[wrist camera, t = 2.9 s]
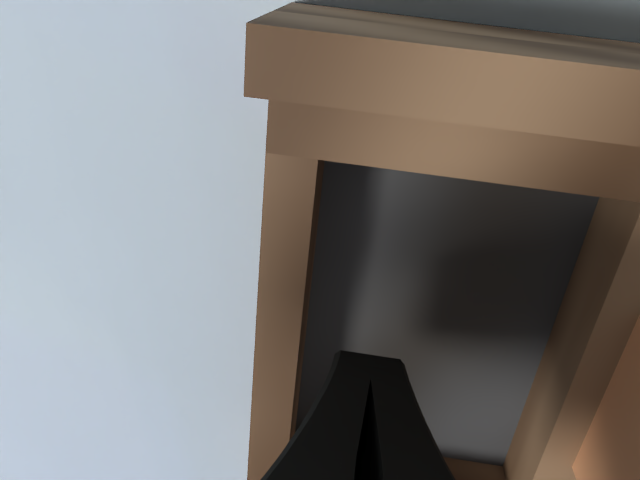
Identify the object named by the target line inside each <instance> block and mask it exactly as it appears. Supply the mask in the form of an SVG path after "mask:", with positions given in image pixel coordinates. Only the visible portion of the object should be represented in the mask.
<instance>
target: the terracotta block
mask: <svg viewBox="0 0 640 480" xmlns="http://www.w3.org/2000/svg"><path fill="white" fill-rule="evenodd" d="M572 469H573V472H574V475H575V477H576V480H640V315H639V317H638V319H637V321H636V324H635V326H634V328H633V330H632V333H631V335H630V337H629V339H628V342H627V344H626V346H625V348H624V351H623V353H622V355H621V357H620V360H619V362H618V364H617V366H616V369H615V371H614V373H613V376H612V378H611V380H610V382H609V385H608V387H607V389H606V391H605V394H604V396H603V398H602V400H601V403H600V405H599V407H598V409H597V412H596V414H595V416H594V418H593V421H592V423H591V425H590V427H589V430H588V432H587V434H586V436H585V439H584V441H583V443H582V445H581V448H580V450H579V452H578V454H577V457H576V459H575V461H574V463H573V466H572Z"/></svg>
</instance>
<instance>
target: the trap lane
mask: <svg viewBox="0 0 640 480" xmlns="http://www.w3.org/2000/svg"><path fill="white" fill-rule="evenodd" d="M244 97H252V98H260V99H268V100H269V103H268V121H267V138H266V156H265V174H264V192H263V209H262V227H261V245H260V262H259V280H258V298H257V316H256V333H255V351H254V369H253V386H252V404H251V422H250V440H249V457H248V475H247V480H261V478H262V477H263V476H264V475H265V474H266V472H267V471H268V470H269V468H270V467H271V466H272V465H273V463H274V462H275V461H276V459H277V458H278V457H279V455H280V454H281V453H282V451H283V450H284V448H285V447H286V445H287V444H288V442H289V441H290V440H291V438H292V437H293V435H294V434H295V432H296V431H297V429H298V428H299V426H300V425H301V423H302V422H303V420H304V418H305V417H306V415H307V413H308V412H309V410H310V408H311V406H312V405H313V403H314V401H315V399H316V398H317V396H318V394H319V392H320V390H321V388H322V386H323V384H324V382H325V380H326V378H327V376H328V373H329V371H330V368H331V365H332V362H333V359H334V354H335V353H337V352H338V351H340V350H343V351H350V352H356V353H363V354H370V355H376V356H383V357H389V358H396V359H401V361H402V362H403V363H404V364H405V368H406V371H407V374H408V378H409V381H410V383H411V386H412V389H413V392H414V394H415V397H416V399H417V402H418V404H419V407H420V409H421V411H422V414H423V416H424V418H425V421H426V423H427V425H428V427H429V429H430V431H431V433H432V435H433V438H434V440H435V442H436V444H437V446H438V448H439V450H440V452H441V454H442V456H443V458H444V460H445V462H446V464H447V465H448V467H449V469H450V471H451V473H452V474H453V476H454V478H455V480H576V477H575V475H574V472H573V469H572V466H573V463H574V461H575V459H576V457H577V454H578V452H579V450H580V448H581V445H582V443H583V441H584V439H585V436H586V434H587V432H588V430H589V427H590V425H591V423H592V421H593V418H594V416H595V414H596V412H597V409H598V407H599V405H600V403H601V400H602V398H603V396H604V394H605V391H606V389H607V387H608V385H609V382H610V380H611V378H612V376H613V373H614V371H615V369H616V366H617V364H618V362H619V360H620V357H621V355H622V353H623V351H624V348H625V346H626V344H627V342H628V339H629V337H630V335H631V333H632V330H633V328H634V326H635V324H636V321H637V319H638V317H639V315H640V43H634V42H626V41H617V40H609V39H600V38H592V37H583V36H575V35H566V34H558V33H549V32H541V31H532V30H524V29H515V28H507V27H498V26H490V25H481V24H473V23H464V22H456V21H447V20H439V19H430V18H422V17H413V16H405V15H396V14H388V13H379V12H371V11H362V10H354V9H345V8H337V7H328V6H320V5H311V4H303V3H294V2H292V3H290V4H287V5H285V6H283V7H281V8H278V9H276V10H274V11H272V12H269V13H267V14H265V15H263V16H260V17H258V18H256V19H254V20H252V21H249V22H247V23H246V49H245V77H244Z"/></svg>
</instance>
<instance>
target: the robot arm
mask: <svg viewBox="0 0 640 480" xmlns="http://www.w3.org/2000/svg"><path fill="white" fill-rule="evenodd" d="M261 480H455V478H454V476H453V474H452V473H451V471H450V469H449V467H448V465H447V464H446V462H445V460H444V458H443V456H442V454H441V452H440V450H439V448H438V446H437V444H436V442H435V440H434V438H433V435H432V433H431V431H430V429H429V427H428V425H427V423H426V421H425V418H424V416H423V414H422V411H421V409H420V407H419V404H418V402H417V399H416V397H415V394H414V392H413V389H412V386H411V383H410V381H409V378H408V374H407V371H406V368H405V364H404V363H403V362H402V361H401V359H396V358H389V357H383V356H376V355H370V354H363V353H356V352H350V351H343V350H340V351H338V352H337V353H335V354H334V359H333V362H332V365H331V368H330V371H329V373H328V376H327V378H326V380H325V382H324V384H323V386H322V388H321V390H320V392H319V394H318V396H317V398H316V399H315V401H314V403H313V405H312V406H311V408H310V410H309V412H308V413H307V415H306V417H305V418H304V420H303V422H302V423H301V425H300V426H299V428H298V429H297V431H296V432H295V434H294V435H293V437H292V438H291V440H290V441H289V442H288V444H287V445H286V447H285V448H284V450H283V451H282V453H281V454H280V455H279V457H278V458H277V459H276V461H275V462H274V463H273V465H272V466H271V467H270V468H269V470H268V471H267V472H266V474H265V475H264V476H263V477H262V478H261Z"/></svg>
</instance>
